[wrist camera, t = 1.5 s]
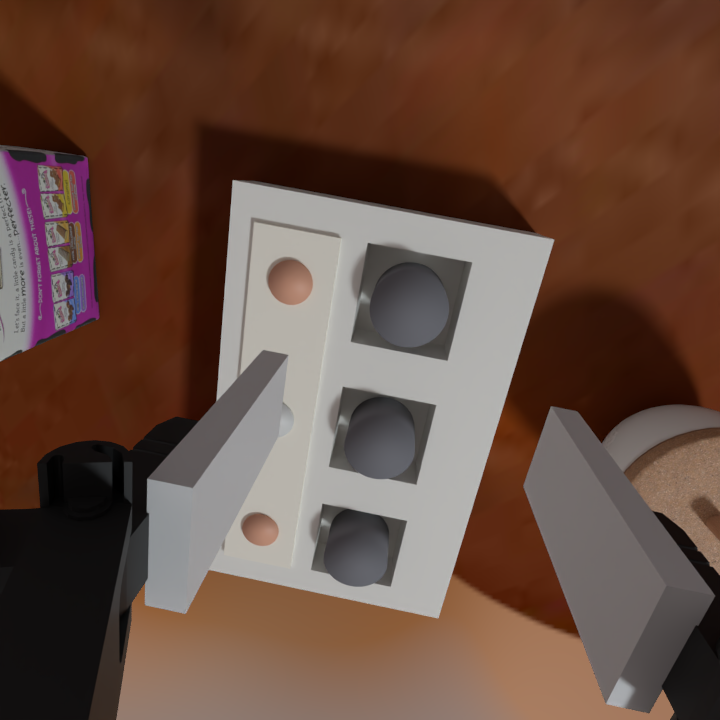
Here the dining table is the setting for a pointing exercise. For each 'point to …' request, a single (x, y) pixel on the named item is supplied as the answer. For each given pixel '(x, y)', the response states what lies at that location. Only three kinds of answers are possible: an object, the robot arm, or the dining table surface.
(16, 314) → the candy bar box
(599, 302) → the dining table surface
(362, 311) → the button board
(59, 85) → the dining table surface
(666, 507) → the lidded jar
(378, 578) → the button
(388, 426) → the button
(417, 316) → the button
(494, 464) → the dining table surface
